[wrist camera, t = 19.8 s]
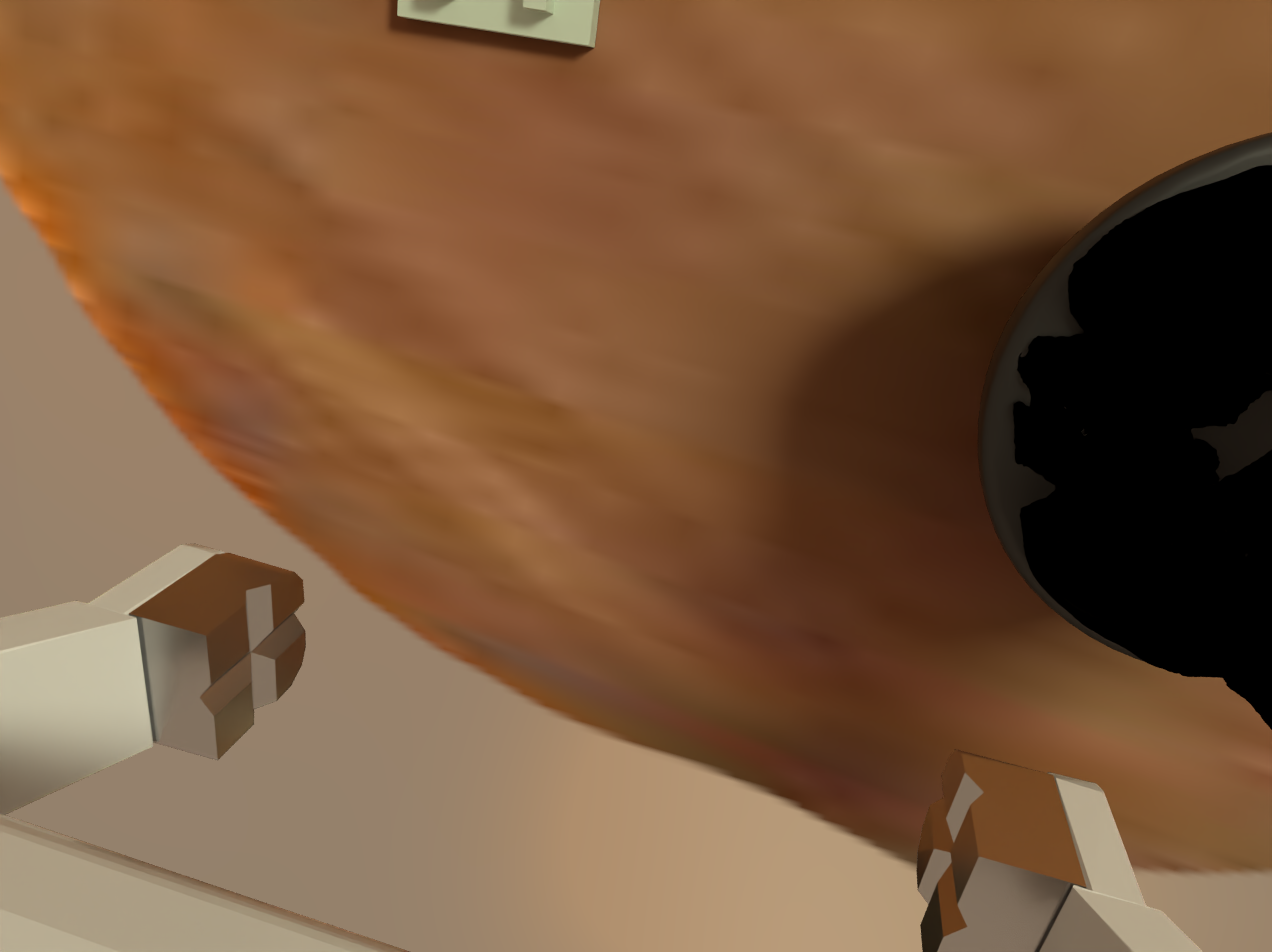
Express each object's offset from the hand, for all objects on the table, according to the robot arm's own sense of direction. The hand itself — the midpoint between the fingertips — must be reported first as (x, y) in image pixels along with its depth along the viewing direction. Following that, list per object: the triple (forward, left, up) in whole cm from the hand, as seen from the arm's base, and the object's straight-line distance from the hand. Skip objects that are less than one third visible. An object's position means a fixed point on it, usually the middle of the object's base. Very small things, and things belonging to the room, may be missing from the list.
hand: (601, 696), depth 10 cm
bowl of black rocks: (-19, 0, -33) cm, 38 cm away
